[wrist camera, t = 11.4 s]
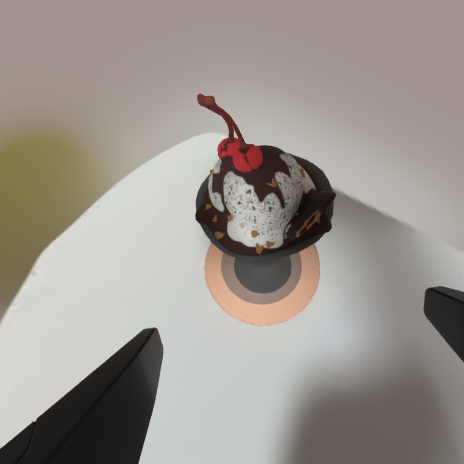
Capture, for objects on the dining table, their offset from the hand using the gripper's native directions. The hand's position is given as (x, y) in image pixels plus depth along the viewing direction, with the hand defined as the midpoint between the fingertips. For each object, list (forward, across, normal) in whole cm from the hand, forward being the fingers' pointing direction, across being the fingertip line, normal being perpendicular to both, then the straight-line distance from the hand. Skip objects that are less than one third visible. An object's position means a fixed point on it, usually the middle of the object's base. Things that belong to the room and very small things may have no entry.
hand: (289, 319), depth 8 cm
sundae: (+12, 0, +4) cm, 13 cm away
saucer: (+13, 0, +4) cm, 13 cm away
